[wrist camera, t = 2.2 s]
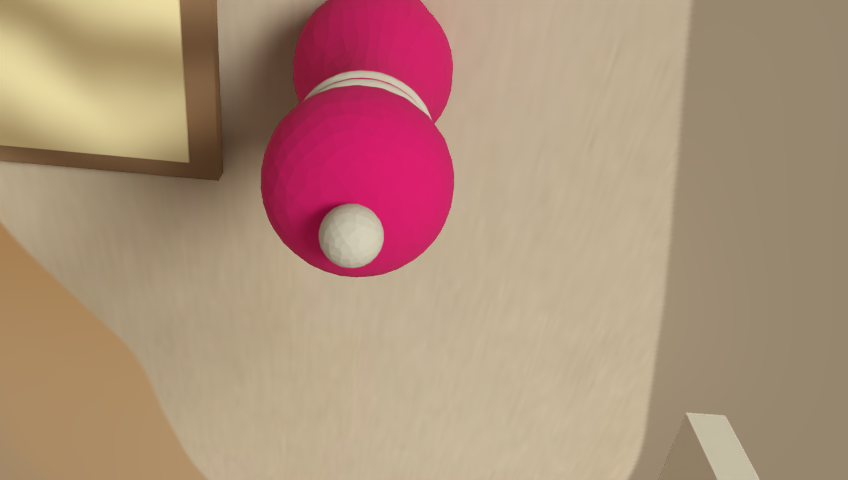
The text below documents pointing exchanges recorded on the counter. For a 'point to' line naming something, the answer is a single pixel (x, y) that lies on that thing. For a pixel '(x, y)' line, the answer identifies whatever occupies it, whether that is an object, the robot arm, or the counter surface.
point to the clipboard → (112, 85)
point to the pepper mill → (363, 139)
